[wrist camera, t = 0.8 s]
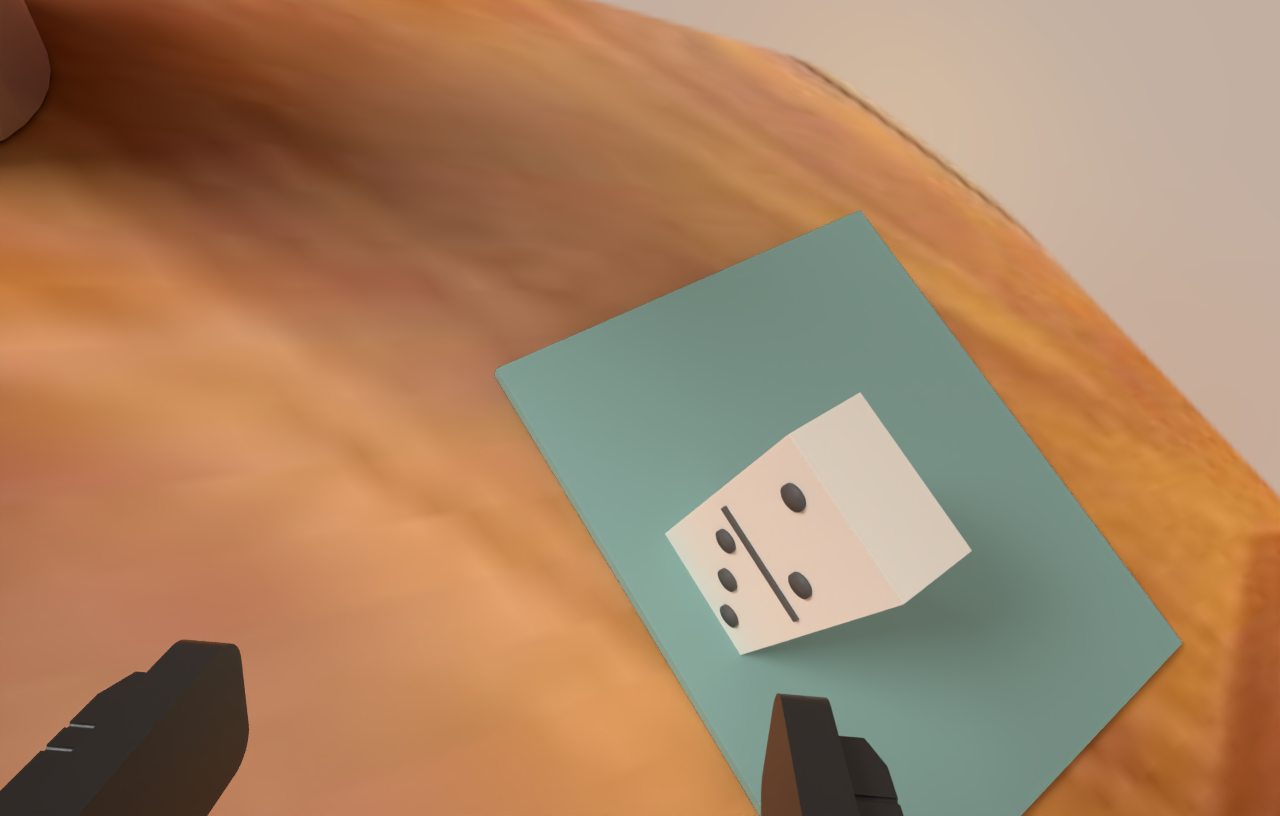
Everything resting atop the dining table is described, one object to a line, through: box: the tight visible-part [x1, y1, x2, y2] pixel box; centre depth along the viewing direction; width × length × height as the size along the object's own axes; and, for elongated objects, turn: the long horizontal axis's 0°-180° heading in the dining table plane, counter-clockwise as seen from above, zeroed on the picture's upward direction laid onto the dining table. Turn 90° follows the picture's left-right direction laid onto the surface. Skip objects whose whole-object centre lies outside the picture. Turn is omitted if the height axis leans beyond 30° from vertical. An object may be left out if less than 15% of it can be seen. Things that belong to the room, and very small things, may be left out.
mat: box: [495, 210, 1182, 816], centre depth 36 cm, size 26×22×1 cm
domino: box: [665, 393, 972, 655], centre depth 28 cm, size 6×3×11 cm, turn 33°
